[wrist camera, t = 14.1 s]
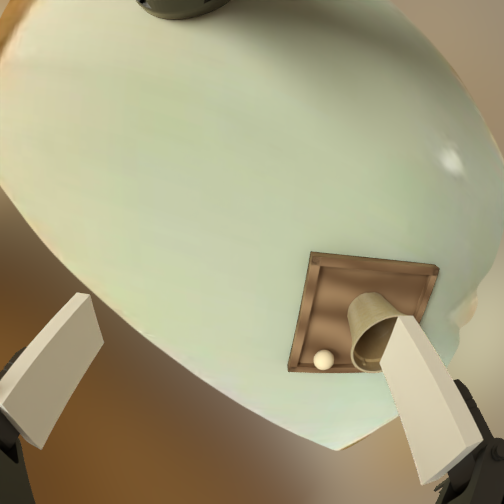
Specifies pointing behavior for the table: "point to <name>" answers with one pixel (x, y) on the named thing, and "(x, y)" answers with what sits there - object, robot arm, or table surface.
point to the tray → (341, 296)
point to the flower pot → (370, 330)
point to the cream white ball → (323, 359)
